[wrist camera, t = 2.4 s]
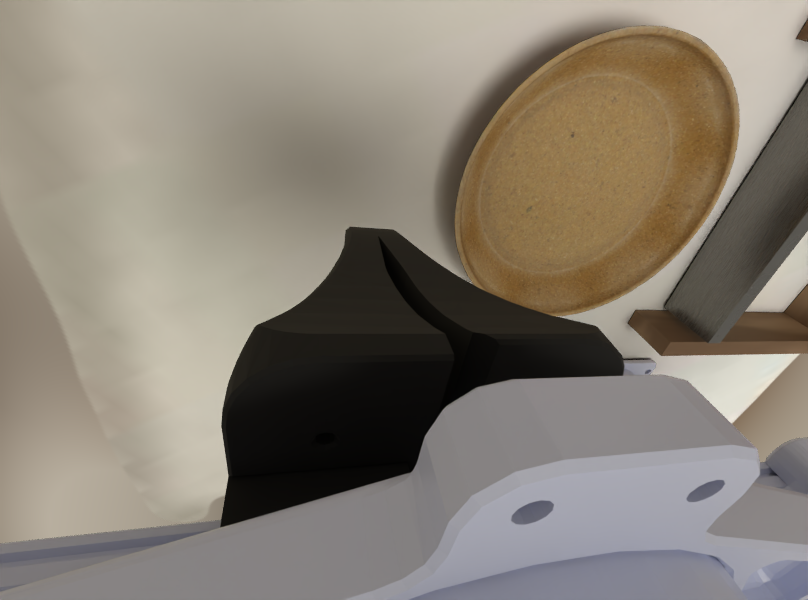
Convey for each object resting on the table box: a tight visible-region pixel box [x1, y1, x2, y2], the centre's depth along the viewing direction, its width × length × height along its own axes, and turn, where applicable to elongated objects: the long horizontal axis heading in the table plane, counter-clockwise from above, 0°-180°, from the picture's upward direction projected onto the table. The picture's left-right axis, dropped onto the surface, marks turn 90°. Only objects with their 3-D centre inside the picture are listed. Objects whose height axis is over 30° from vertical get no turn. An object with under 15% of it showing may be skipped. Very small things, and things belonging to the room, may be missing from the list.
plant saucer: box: [455, 26, 739, 316], centre depth 21 cm, size 15×15×3 cm
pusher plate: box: [665, 82, 808, 343], centre depth 23 cm, size 16×1×4 cm, turn 171°
